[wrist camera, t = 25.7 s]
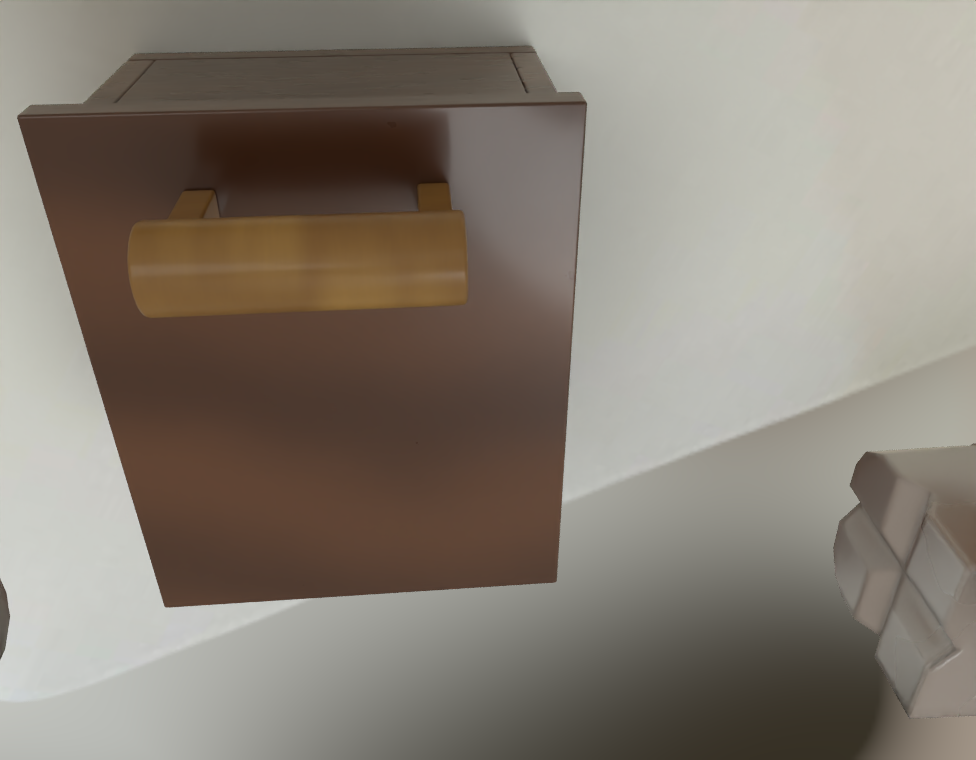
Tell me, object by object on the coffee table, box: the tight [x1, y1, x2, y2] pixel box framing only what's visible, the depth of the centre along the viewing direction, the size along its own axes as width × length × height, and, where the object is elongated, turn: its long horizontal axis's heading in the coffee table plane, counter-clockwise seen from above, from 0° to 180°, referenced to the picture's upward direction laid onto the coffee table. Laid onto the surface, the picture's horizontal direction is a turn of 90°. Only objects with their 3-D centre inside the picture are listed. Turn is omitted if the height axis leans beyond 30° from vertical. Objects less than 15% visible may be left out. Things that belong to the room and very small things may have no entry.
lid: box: [17, 92, 587, 607], centre depth 20 cm, size 14×12×5 cm
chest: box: [83, 46, 558, 104], centre depth 26 cm, size 14×12×8 cm
